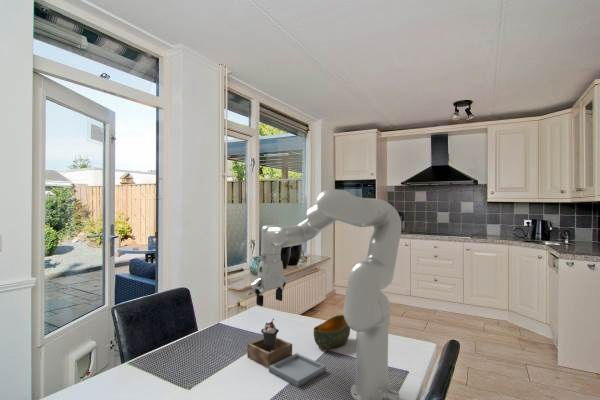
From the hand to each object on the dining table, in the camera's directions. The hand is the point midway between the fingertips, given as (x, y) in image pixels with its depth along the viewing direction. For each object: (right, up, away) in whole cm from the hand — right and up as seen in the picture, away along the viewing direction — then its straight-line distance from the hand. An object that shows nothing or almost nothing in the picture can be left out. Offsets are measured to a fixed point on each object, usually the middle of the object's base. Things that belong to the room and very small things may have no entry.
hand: (269, 302), depth 125 cm
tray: (+11, -20, -11) cm, 26 cm away
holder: (0, -21, -1) cm, 21 cm away
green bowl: (+26, -21, +12) cm, 36 cm away
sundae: (0, -21, -1) cm, 21 cm away
